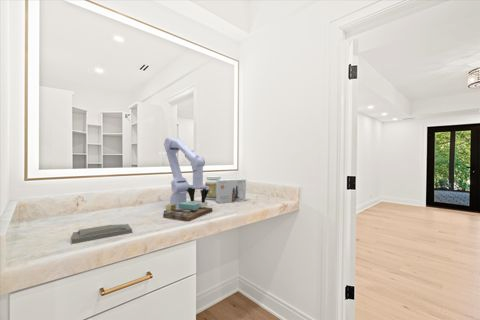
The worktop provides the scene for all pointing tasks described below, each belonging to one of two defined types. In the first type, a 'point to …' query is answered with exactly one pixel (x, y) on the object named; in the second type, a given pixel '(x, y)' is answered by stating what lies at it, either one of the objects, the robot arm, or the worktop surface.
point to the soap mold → (100, 232)
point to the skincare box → (230, 190)
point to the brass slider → (171, 207)
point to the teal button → (189, 205)
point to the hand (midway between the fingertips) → (197, 201)
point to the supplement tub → (211, 186)
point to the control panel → (186, 213)
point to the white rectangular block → (200, 203)
